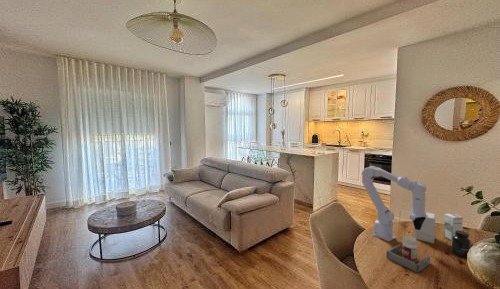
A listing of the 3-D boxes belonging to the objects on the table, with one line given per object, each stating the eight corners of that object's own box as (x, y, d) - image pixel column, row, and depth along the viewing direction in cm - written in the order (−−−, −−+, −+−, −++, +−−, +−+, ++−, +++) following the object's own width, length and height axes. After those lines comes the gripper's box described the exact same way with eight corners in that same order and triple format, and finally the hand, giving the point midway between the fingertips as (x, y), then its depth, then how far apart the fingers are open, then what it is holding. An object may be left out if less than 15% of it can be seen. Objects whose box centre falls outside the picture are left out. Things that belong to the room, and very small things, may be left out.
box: (386, 257, 109) (386, 251, 109) (399, 250, 115) (399, 243, 115) (417, 272, 97) (418, 265, 97) (429, 263, 103) (430, 256, 103)
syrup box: (462, 241, 122) (463, 217, 121) (452, 241, 123) (453, 217, 121) (453, 236, 128) (454, 213, 127) (443, 236, 128) (444, 213, 127)
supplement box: (434, 237, 127) (435, 213, 126) (434, 244, 120) (435, 218, 119) (415, 233, 133) (416, 210, 132) (414, 238, 126) (414, 214, 125)
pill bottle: (398, 256, 109) (399, 235, 109) (409, 255, 110) (409, 234, 109) (409, 264, 103) (410, 241, 102) (420, 262, 104) (421, 240, 103)
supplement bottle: (464, 259, 106) (465, 236, 105) (448, 252, 112) (449, 230, 111) (473, 257, 108) (474, 234, 107) (457, 249, 114) (458, 228, 113)
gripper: (421, 210, 109) (420, 235, 109) (433, 204, 116) (432, 228, 117) (405, 206, 115) (404, 230, 116) (417, 201, 122) (417, 224, 123)
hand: (417, 229), depth 117 cm, fingers closed
